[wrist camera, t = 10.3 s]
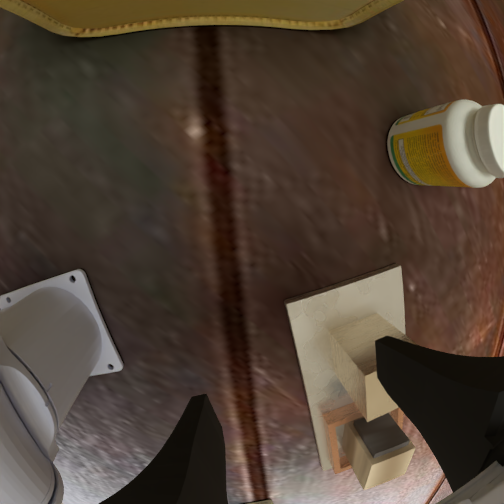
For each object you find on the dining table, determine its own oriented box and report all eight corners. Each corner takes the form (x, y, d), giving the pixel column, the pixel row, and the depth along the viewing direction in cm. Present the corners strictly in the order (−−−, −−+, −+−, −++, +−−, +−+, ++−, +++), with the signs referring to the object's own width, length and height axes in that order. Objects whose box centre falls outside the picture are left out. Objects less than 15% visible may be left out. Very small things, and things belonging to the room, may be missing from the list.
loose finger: (341, 446, 23) (363, 490, 17) (345, 414, 22) (373, 460, 17) (378, 435, 24) (404, 474, 18) (385, 402, 23) (417, 443, 17)
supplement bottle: (396, 103, 19) (486, 70, 9) (443, 141, 20) (534, 130, 10) (374, 163, 19) (473, 152, 10) (425, 198, 20) (522, 208, 11)
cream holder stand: (320, 466, 25) (340, 513, 18) (283, 300, 20) (314, 347, 14) (397, 434, 25) (426, 473, 19) (395, 263, 21) (454, 289, 14)
